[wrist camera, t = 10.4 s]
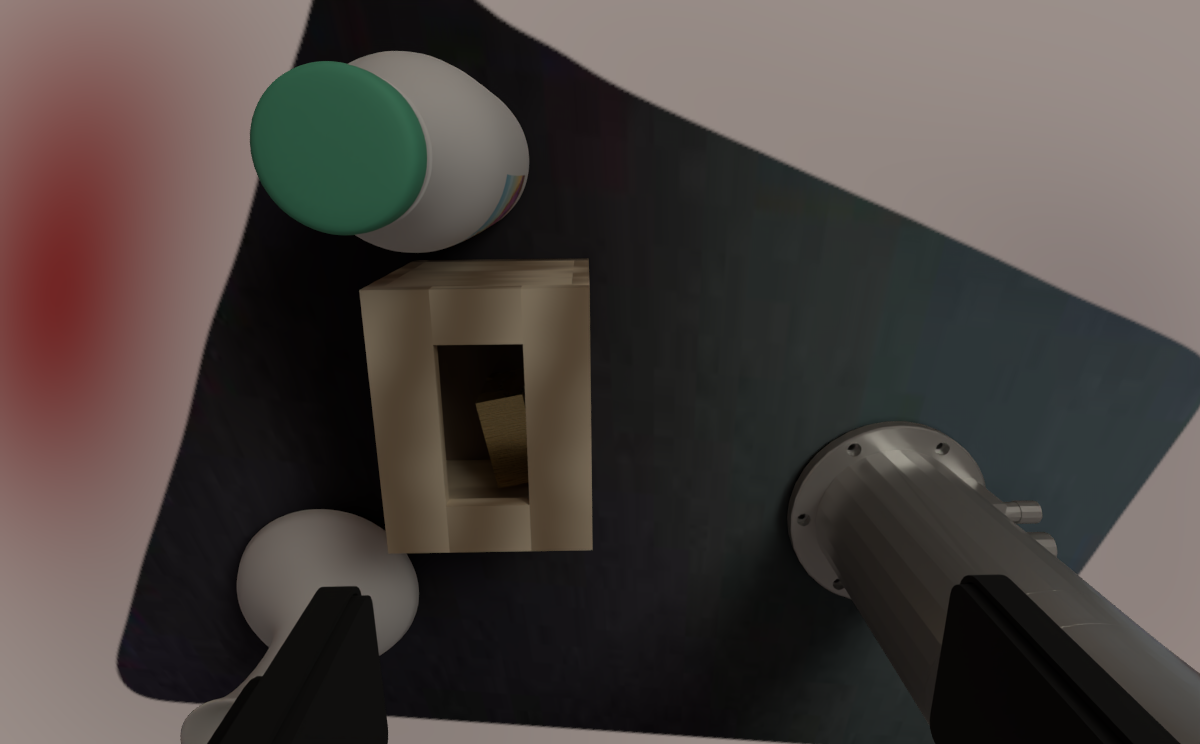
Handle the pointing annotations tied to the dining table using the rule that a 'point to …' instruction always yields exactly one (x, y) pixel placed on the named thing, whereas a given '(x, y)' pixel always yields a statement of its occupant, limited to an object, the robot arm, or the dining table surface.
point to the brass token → (505, 426)
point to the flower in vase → (312, 588)
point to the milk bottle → (389, 150)
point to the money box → (451, 388)
